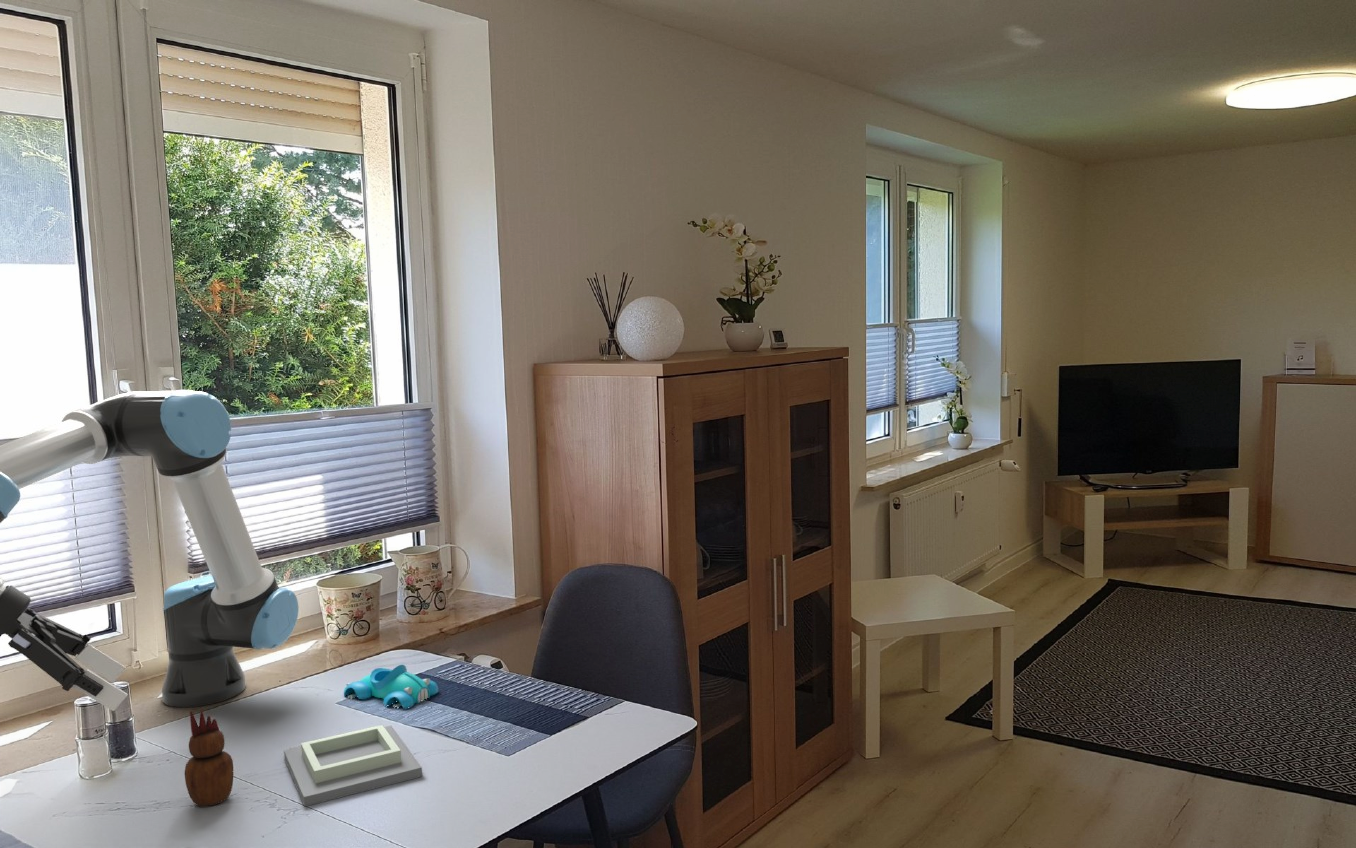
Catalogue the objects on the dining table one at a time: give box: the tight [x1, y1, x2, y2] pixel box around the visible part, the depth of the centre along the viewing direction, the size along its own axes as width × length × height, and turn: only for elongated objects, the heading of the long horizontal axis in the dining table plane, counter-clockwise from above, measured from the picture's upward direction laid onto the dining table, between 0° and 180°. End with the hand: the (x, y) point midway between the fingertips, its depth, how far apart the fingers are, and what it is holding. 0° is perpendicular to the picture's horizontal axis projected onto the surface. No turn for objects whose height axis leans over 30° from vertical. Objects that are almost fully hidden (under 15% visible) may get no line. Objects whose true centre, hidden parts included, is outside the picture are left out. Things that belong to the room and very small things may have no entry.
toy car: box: [343, 664, 439, 709], centre depth 198 cm, size 11×18×7 cm, turn 61°
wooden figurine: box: [184, 710, 234, 807], centre depth 155 cm, size 7×6×15 cm
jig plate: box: [283, 724, 423, 807], centre depth 166 cm, size 20×18×4 cm
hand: (120, 688), depth 148 cm, fingers open, 13 cm apart
